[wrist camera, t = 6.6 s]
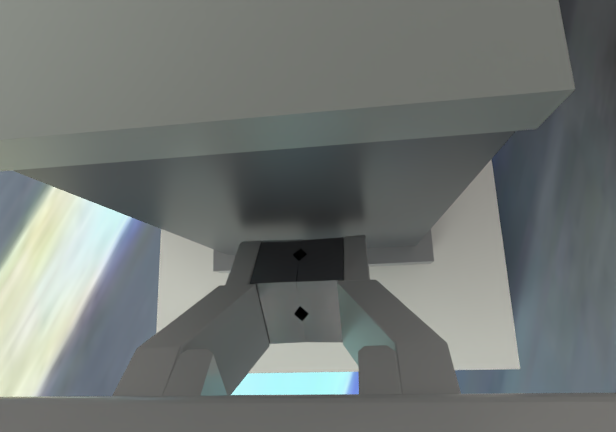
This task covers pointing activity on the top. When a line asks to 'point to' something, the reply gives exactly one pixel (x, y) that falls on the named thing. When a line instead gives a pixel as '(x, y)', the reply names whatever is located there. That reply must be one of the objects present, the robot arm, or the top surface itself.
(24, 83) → the fader knob
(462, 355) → the fader console
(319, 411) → the robot arm
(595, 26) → the top surface
